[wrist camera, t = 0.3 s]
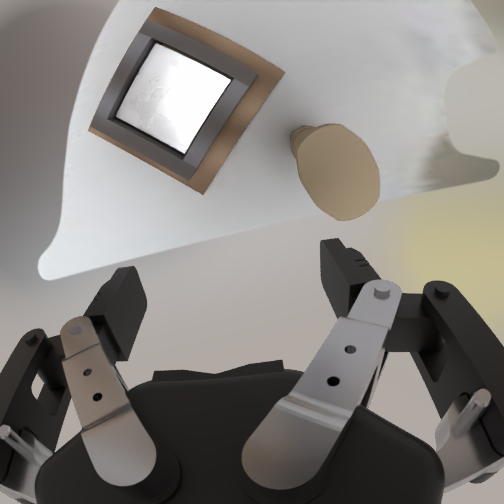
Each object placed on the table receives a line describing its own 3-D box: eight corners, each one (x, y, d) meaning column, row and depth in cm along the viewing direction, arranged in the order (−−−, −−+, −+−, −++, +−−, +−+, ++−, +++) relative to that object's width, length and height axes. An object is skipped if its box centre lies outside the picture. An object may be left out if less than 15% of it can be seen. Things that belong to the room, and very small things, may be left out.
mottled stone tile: (158, 44, 22) (156, 43, 21) (231, 80, 24) (230, 80, 24) (118, 115, 26) (115, 116, 25) (186, 152, 28) (184, 153, 27)
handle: (300, 174, 32) (331, 232, 19) (269, 127, 30) (281, 151, 17) (336, 153, 31) (391, 197, 18) (307, 104, 28) (349, 111, 15)
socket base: (159, 10, 23) (142, -4, 18) (284, 73, 27) (289, 68, 22) (94, 128, 29) (69, 136, 24) (205, 190, 33) (196, 207, 29)
